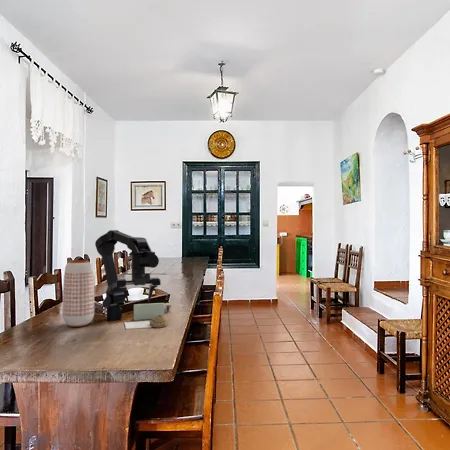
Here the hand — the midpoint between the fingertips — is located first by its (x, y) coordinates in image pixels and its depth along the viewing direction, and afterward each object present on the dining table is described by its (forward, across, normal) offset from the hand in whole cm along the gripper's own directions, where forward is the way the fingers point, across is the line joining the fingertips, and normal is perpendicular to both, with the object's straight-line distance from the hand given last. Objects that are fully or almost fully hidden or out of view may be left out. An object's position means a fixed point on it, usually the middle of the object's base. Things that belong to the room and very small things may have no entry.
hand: (138, 301), depth 170 cm
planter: (+10, -25, +9) cm, 29 cm away
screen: (+10, +6, +11) cm, 16 cm away
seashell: (+10, +11, +1) cm, 15 cm away
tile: (+10, 0, 0) cm, 10 cm away
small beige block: (+10, +16, +23) cm, 30 cm away
